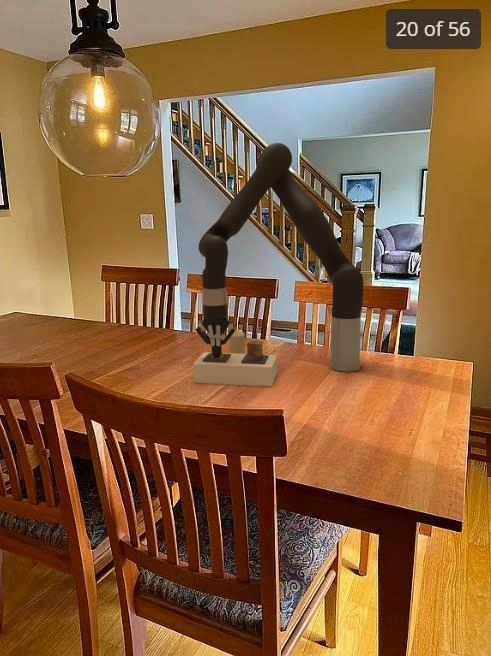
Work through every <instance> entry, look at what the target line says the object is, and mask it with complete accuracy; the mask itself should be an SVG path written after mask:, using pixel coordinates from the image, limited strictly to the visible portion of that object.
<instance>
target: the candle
mask: <svg viewBox="0 0 491 656" xmlns="http://www.w3.org/2000/svg"><path fill="white" fill-rule="evenodd" d="M245 339H246V335H245V333H244V332H243V331H242V330H241V329H236V331H235V332H234V333H233V335H232V336H231V337H230V339H229V340H228V353H236V354H246V340H245Z"/></svg>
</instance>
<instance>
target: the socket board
mask: <svg viewBox="0 0 491 656" xmlns="http://www.w3.org/2000/svg"><path fill="white" fill-rule="evenodd" d="M221 355H225V357H224V358H223V359H210V357H211V356H212V352H203V353H202V354H200V356H199V357H198V358H197V359H196V360H195V361H194V362H193V364H192V370H193V371H192V372H193V383H195V384H211V385H212V384H213V385H229V386H230V385H232V386H235V385H236V386H251V387H252V386H253V387H273V385H274V382H275V380H276V377H277V375H278V354H263V359H262V361H249V360H247V353H245V354H236V353H229V352H222V354H221Z"/></svg>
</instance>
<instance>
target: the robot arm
mask: <svg viewBox="0 0 491 656" xmlns="http://www.w3.org/2000/svg"><path fill="white" fill-rule="evenodd" d="M291 151H292V150H290V148H289V147H288V146H287V145H286V144H284V143H281V142H274V143H271V144H269V145H267V146H266V147H265V148H264V149H263V150H262V152H261V153H260V154H259V155H258V158H257V161H256V168H255V169H254V172H253V173H252V174H251V176H250V178H249V179H248V181H246V182H245V184H244V185H243V187H242V188H241V189H240V190H239V192H238V193H236V195H235V196H234V197H233V199H231V201H230V202H229V204H228V205H227V207H226V208H225V209H224V210H223V212H222V214H221V215H220V216H219V218H218V219H217V220H216V222H214V223H213V224H212V226H211V227H209V229H207V230H206V231H205V233H204V234H203V235H202V237H201V239H200V240H199V243H198V251H199V253H200V255H201V256H202V257H204V258H205V260H204V261H205V266H204V267H205V268H204V269H203V270H202V272H201V273H202V275H201V278H202V281H201V282H202V283H201V284H202V291H201V292H202V293H201V295H202V296H201V297H202V298H201V302H202V303H201V304H202V318H203V319H202V322H201V325H198V326H197V327H196V328H195V332H196V333H197V334H198V335H199V337H200V338H201V339H202V340H203V341H204V343H205V344H206V345H210V346H211V353H212V355H213V356H214V357H217V358H219V357H220V355H221V354H222V353H223V348H222V347H223V345H226V344H227V343H228V342H229V339H230V337H231V336H232V335H233V333H234V332H235V331H236V330H237V327H236V326H235V327H234V326H232V325H231V324H230V320H229V315H228V311H229V309H228V291H227V283H226V282H227V280H226V277H227V276H226V270H227V266H228V259H229V248H228V243H227V242H228V241H229V240H230V238H232V237H235V236H236V235H237V234H238V233H239V232H240V231H241V229H242V228H243V227H244V226H245V223H246V222H247V221H248V220H249V219H250V217H251V215H252V213H253V212H254V211H255V209H256V207H257V206H258V205H259V204H260V202H261V200H262V199H263V197H264V196H265V195H266V193H267V192H268V191H269V190H270V189H271V190H272V191H273V193H275V195H276V196H277V198H278V199H279V201H280V203H281V204H282V206H283V208H284V210H285V213H287V215H288V217H289V218H290V219H291V221H292V223H293V225H294V227H295V228H296V230H297V231H298V233H299V235H300V236H301V238H302V240H303V241H304V242H305V243H306V244H307V247H309V249H311V251H312V252H313V253H314V254H315V256H317V258H318V259H319V260H320V262H321V264H322V266H323V268H324V269H325V271H326V274H327V275H328V277H329V280H330V283H331V285H332V304H331V311H330V314H331V315H330V317H331V318H330V319H331V320H330V357H329V359H330V360H329V361H330V362H329V363H330V364H329V367H330V369H331V370H333V371H337V372H344V373H346V372H348V373H349V372H355V371H357V372H358V371H360V359H361V356H360V355H361V318H362V317H361V316H362V309H363V306H364V305H363V303H364V302H363V300H364V284H365V283H364V277H363V274H362V272H361V270H359V269H358V268H357V267H356V266H354V265H353V263H352V262H351V261H350V260H349V258H348V256H347V255H346V254H345V253H344V251H343V250H342V248H341V246H340V245H339V243H338V240H337V237H336V234H335V233H334V231H333V230H334V229H333V228H332V226H331V224H330V222H329V220H328V218H327V217H326V215H325V213H324V212H323V210H322V209H321V207H320V206H319V205H318V203H317V202H316V201H315V200H314V199H313V198H312V197H311V196H310V195H308V193H306V192H305V191H304V190H303V189H302V188H301V187H300V185H299V184H298V182H297V181H296V180H295V177H294V176H293V175H292V173H291V171H290V168H291V166H292V163H293V155H292V152H291ZM226 331H227V335H225V337H224V338H223V334H224V333H226ZM206 332H207V333H206ZM208 334H209V335H208Z"/></svg>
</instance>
